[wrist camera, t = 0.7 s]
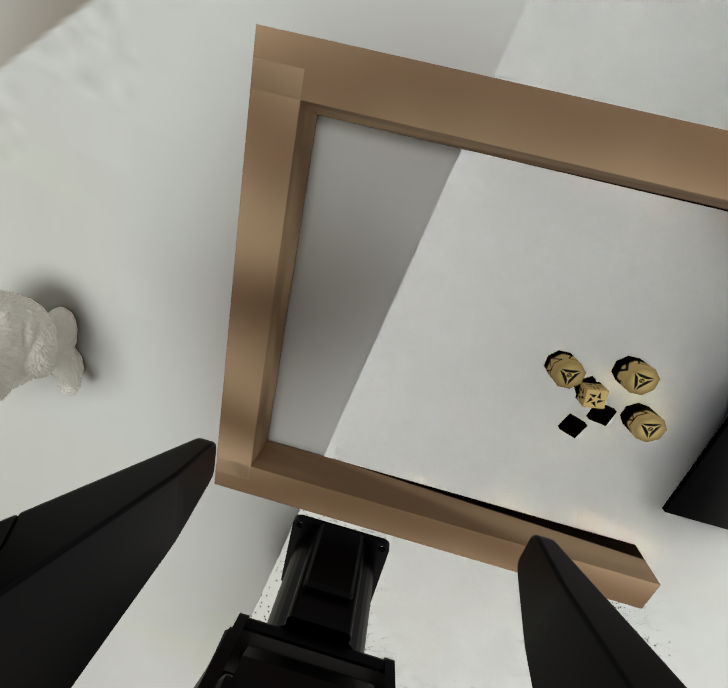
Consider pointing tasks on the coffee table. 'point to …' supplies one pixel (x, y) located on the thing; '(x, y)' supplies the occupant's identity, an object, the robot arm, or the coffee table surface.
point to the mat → (705, 485)
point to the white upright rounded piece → (37, 345)
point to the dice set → (594, 394)
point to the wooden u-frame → (279, 245)
